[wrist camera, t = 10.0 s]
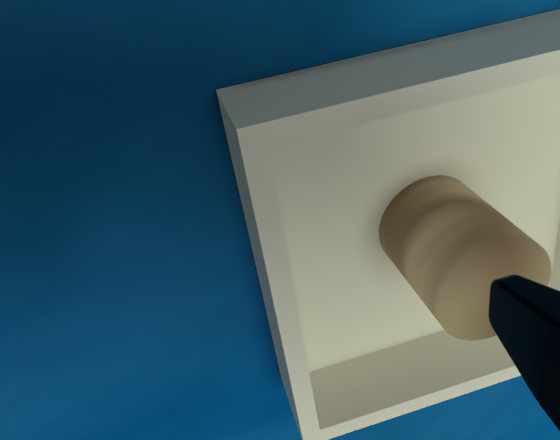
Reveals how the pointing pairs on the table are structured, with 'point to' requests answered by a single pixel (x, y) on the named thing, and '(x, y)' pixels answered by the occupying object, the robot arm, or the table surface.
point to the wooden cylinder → (456, 251)
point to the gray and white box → (374, 200)
